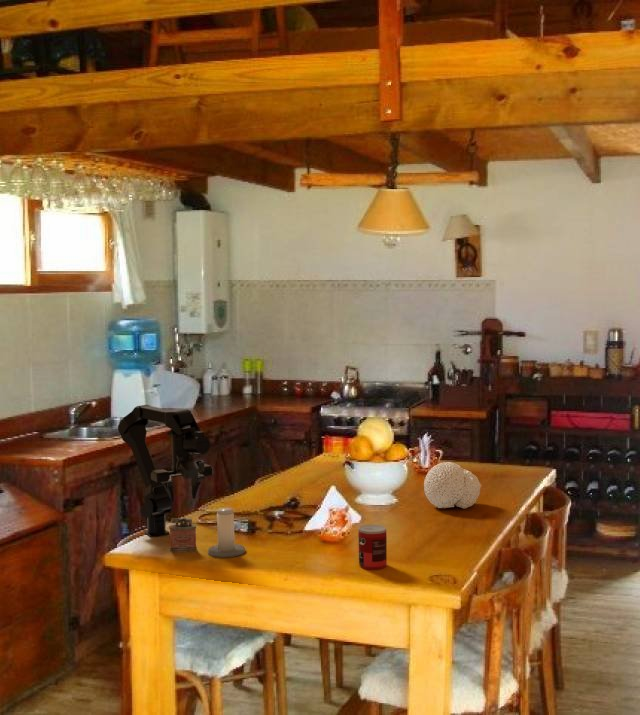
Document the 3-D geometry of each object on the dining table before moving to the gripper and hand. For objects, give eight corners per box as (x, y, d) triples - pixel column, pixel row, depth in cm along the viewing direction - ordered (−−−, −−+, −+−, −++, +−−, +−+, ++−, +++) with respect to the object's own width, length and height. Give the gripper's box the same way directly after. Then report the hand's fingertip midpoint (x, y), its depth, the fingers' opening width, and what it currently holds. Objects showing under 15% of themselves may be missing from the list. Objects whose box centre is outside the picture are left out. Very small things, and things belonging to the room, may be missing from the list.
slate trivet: (202, 550, 294) (202, 547, 293) (235, 544, 299) (235, 541, 299) (217, 560, 284) (217, 556, 284) (251, 553, 290) (251, 550, 290)
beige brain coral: (438, 492, 326) (444, 449, 335) (410, 506, 340) (416, 465, 348) (487, 512, 332) (491, 470, 341) (457, 526, 346) (462, 484, 355)
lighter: (197, 548, 296) (196, 515, 295) (196, 551, 293) (195, 518, 292) (170, 548, 296) (169, 516, 295) (169, 552, 293) (168, 519, 292)
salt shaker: (217, 547, 294) (216, 508, 292) (234, 545, 294) (233, 507, 293) (218, 551, 289) (217, 512, 288) (235, 550, 289) (233, 511, 288)
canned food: (362, 560, 281) (362, 523, 280) (389, 562, 279) (389, 525, 278) (355, 568, 274) (355, 530, 273) (383, 571, 272) (383, 532, 271)
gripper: (163, 458, 289) (164, 509, 291) (220, 451, 299) (221, 501, 301) (149, 452, 299) (151, 502, 300) (205, 445, 309) (206, 494, 310)
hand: (183, 500), depth 303 cm, fingers open, 7 cm apart
